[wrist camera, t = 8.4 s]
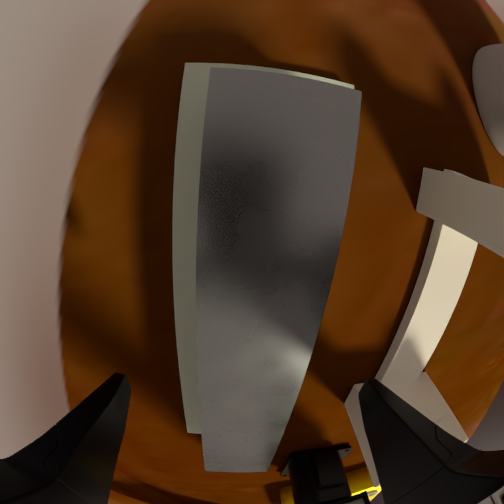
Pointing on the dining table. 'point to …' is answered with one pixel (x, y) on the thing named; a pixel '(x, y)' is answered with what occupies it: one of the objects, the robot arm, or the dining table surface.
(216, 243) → the rail
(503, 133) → the mug
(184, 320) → the mat
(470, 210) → the rack
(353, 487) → the element tile
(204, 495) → the dining table surface
